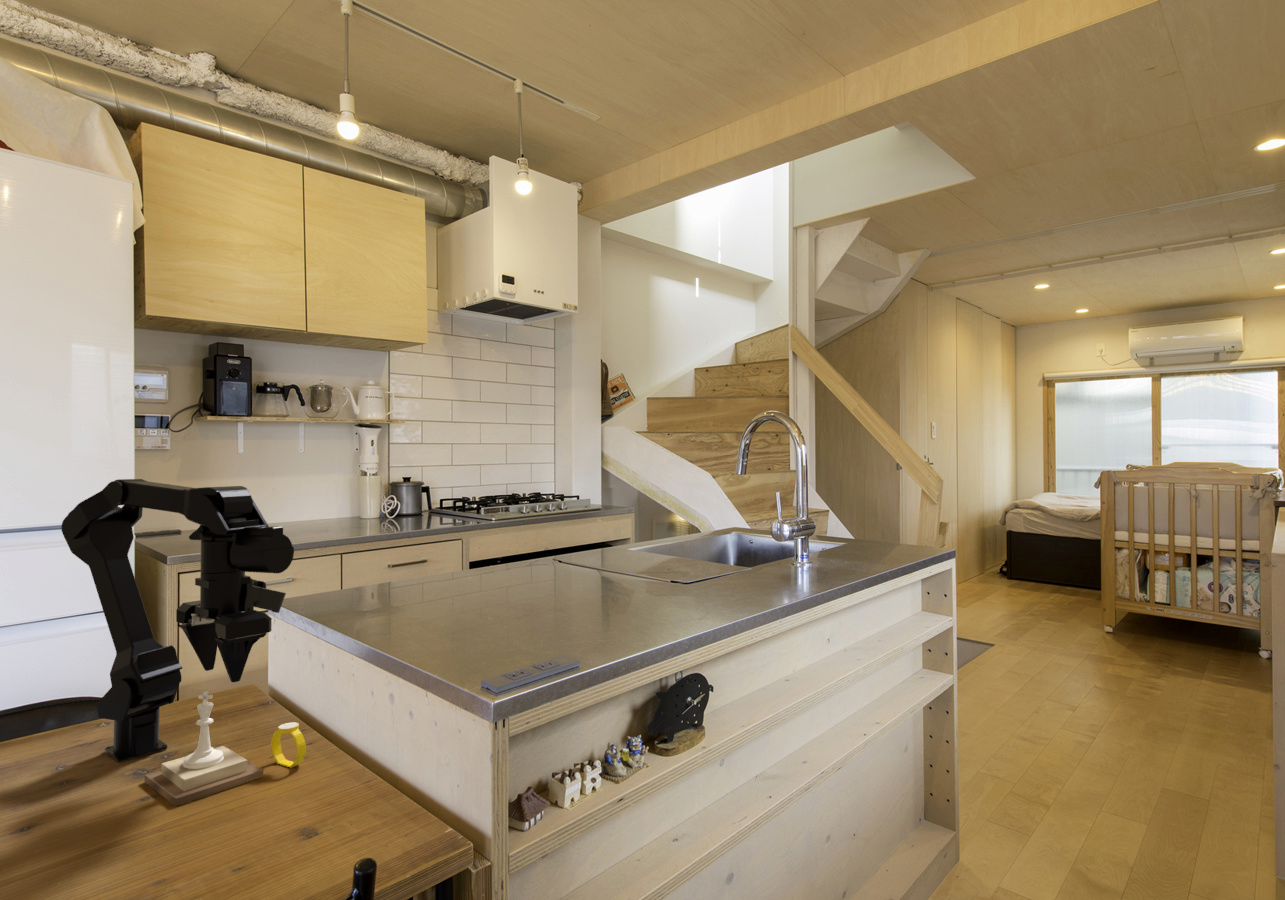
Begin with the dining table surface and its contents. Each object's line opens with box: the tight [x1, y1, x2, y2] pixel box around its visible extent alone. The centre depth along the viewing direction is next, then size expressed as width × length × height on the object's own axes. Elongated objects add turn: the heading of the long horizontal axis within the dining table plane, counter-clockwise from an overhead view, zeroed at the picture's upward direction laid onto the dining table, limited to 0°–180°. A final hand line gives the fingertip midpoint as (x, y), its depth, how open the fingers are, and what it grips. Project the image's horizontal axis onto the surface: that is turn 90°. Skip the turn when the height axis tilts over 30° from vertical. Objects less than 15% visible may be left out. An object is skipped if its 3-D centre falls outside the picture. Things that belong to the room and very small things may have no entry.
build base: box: [144, 745, 264, 807], centre depth 100 cm, size 11×11×2 cm
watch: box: [270, 721, 307, 769], centre depth 105 cm, size 6×3×6 cm, turn 64°
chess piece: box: [183, 689, 224, 769], centre depth 100 cm, size 5×5×10 cm
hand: (222, 675), depth 105 cm, fingers open, 9 cm apart
